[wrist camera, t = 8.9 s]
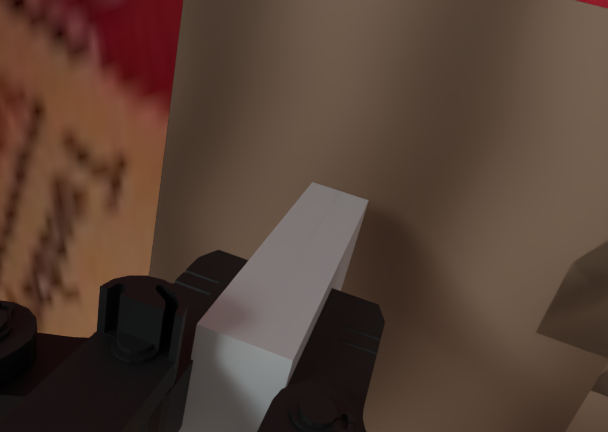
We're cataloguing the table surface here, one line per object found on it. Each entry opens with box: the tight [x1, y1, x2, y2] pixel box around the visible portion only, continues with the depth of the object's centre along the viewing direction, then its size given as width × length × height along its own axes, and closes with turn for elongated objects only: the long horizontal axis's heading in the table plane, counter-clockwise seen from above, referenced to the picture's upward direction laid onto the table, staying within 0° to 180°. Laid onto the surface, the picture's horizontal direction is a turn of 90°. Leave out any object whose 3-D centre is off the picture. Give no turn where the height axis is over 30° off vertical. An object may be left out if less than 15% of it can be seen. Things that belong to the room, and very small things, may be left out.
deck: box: [149, 0, 608, 432], centre depth 16 cm, size 22×14×2 cm, turn 76°
